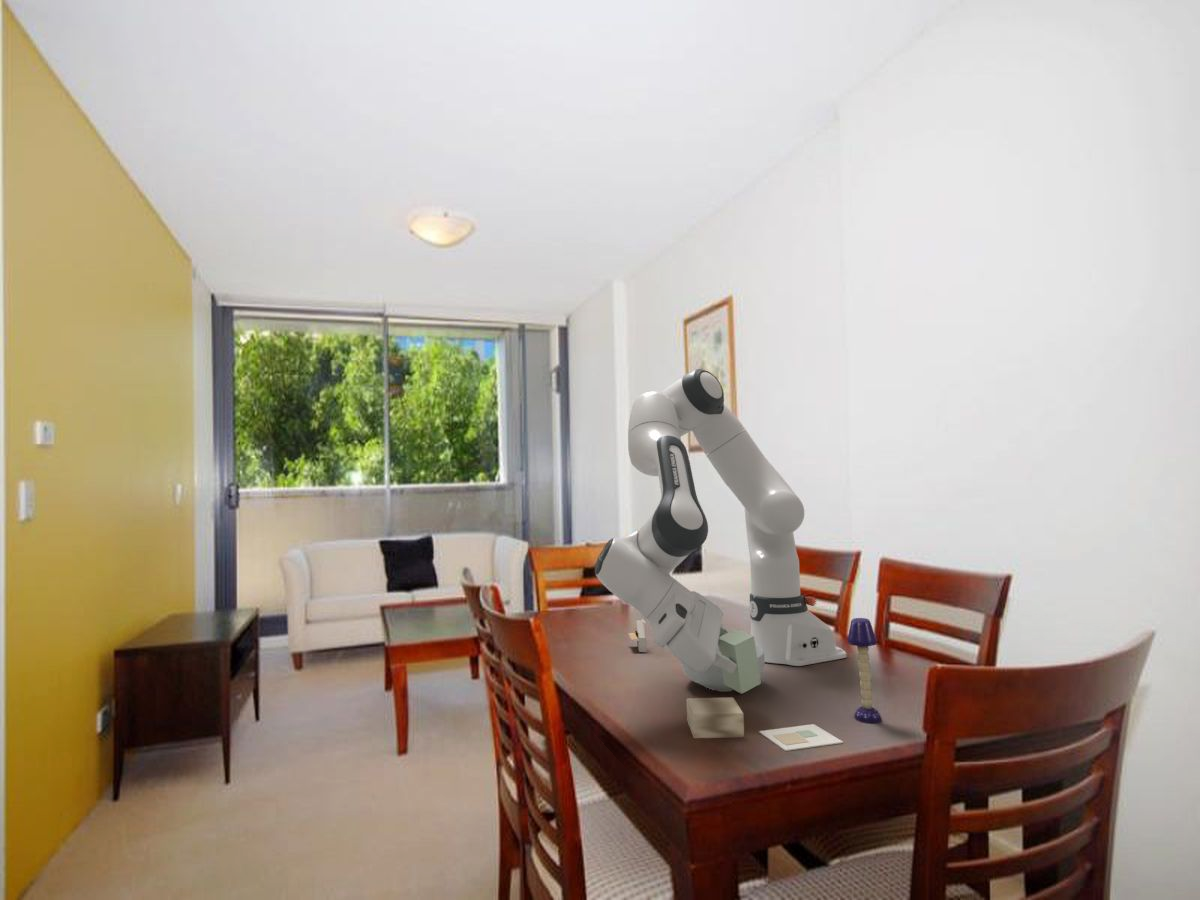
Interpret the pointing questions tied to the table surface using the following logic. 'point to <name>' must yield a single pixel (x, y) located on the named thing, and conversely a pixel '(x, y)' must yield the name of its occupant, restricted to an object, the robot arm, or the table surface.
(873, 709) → the toy lamp
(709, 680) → the cereal bowl
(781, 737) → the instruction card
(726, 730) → the base brick
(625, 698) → the table surface
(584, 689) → the table surface
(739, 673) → the column brick
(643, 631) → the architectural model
